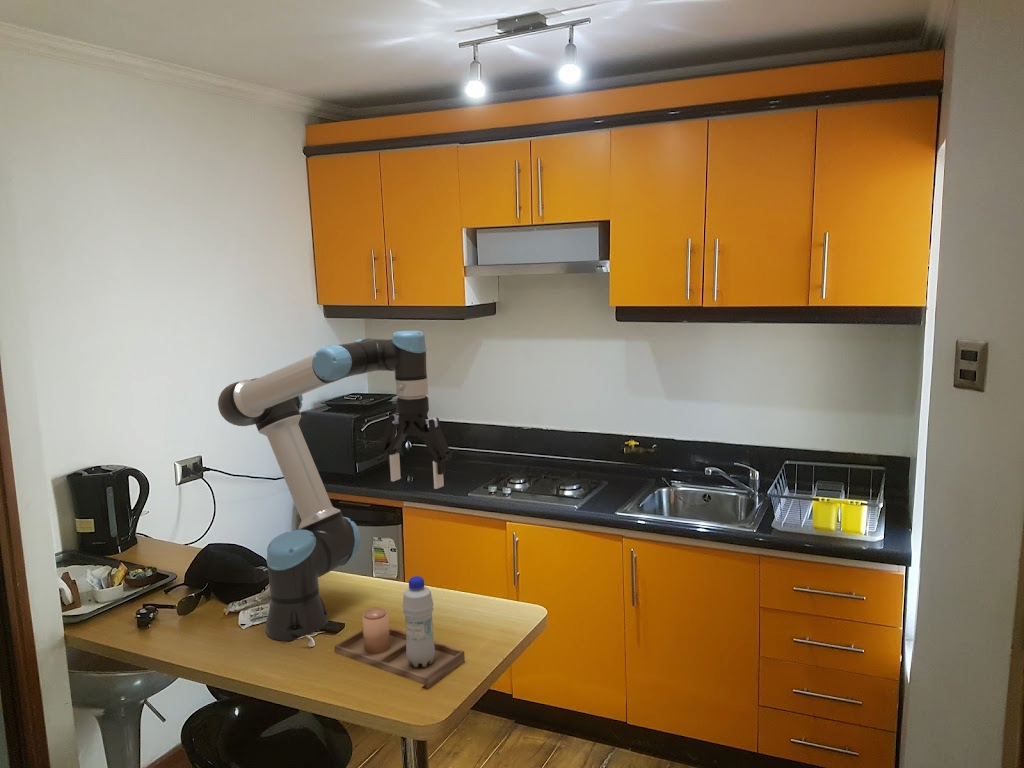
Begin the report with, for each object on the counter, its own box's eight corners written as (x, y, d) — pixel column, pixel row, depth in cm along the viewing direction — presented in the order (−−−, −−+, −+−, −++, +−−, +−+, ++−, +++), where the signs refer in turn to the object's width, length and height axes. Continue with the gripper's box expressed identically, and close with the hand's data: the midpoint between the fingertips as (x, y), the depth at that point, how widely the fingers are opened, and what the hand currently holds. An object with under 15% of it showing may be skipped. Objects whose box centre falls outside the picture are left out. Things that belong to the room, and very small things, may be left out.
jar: (358, 649, 176) (356, 614, 174) (376, 638, 181) (374, 604, 179) (377, 656, 172) (375, 620, 171) (395, 645, 177) (393, 609, 176)
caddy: (335, 656, 175) (334, 646, 175) (375, 632, 186) (374, 623, 186) (426, 689, 160) (426, 678, 160) (464, 661, 171) (464, 651, 171)
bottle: (400, 667, 167) (395, 581, 164) (414, 652, 173) (410, 569, 170) (427, 672, 165) (423, 585, 162) (441, 657, 171) (437, 573, 168)
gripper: (362, 395, 183) (368, 480, 186) (443, 402, 169) (448, 494, 173) (384, 390, 189) (389, 473, 192) (464, 397, 175) (467, 486, 179)
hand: (417, 483), depth 182 cm, fingers open, 13 cm apart
